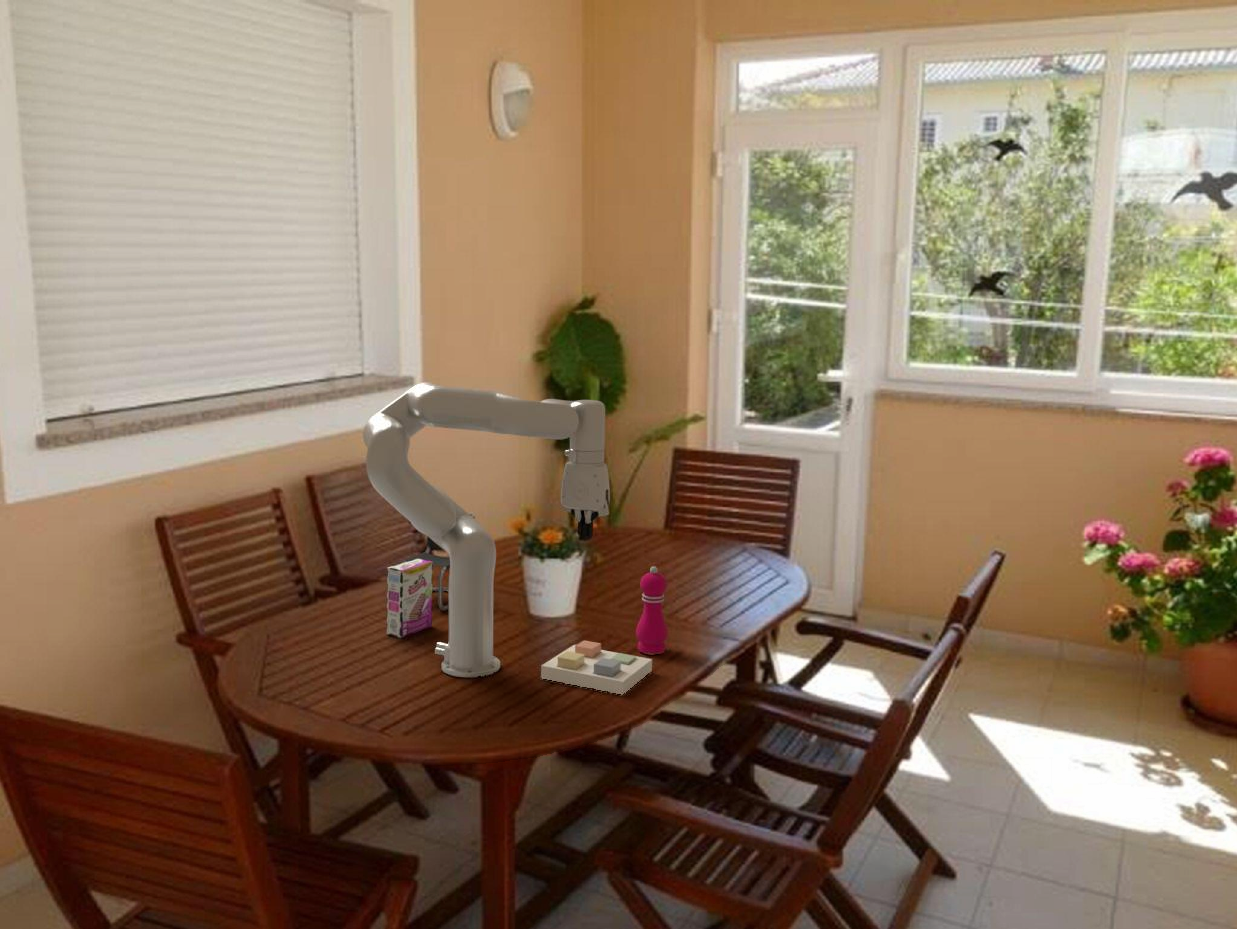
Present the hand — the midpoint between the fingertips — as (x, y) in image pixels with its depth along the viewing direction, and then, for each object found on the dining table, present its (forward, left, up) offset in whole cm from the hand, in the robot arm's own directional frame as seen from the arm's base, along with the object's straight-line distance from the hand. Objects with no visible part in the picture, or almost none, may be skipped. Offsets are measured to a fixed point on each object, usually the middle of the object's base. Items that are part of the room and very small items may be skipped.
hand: (585, 539), depth 238 cm
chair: (-52, +19, -27) cm, 62 cm away
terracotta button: (+4, -5, -25) cm, 25 cm away
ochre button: (+4, -13, -24) cm, 28 cm away
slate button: (+12, -13, -25) cm, 30 cm away
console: (+8, -9, -27) cm, 30 cm away
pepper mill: (+12, +11, -27) cm, 32 cm away
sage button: (+12, -5, -26) cm, 29 cm away
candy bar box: (-44, -4, -27) cm, 52 cm away
